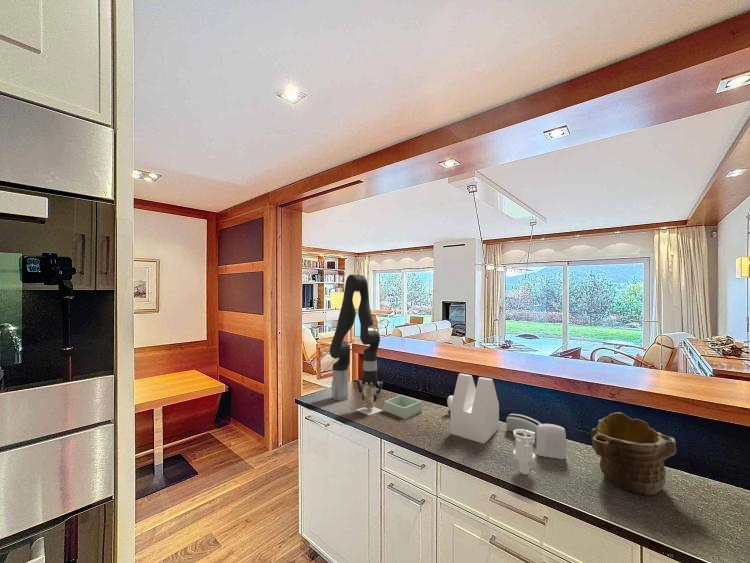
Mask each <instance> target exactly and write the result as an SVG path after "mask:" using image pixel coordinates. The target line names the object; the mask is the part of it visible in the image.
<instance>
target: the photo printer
mask: <svg viewBox="0 0 750 563" xmlns="http://www.w3.org/2000/svg"><path fill="white" fill-rule="evenodd" d="M566 445H567V434H566V429H565V428H564V427H562V426H561V425H557V424H552V423H542V424H539V425H538V428H537V440H536V455H537V454H538V456H540V457H545V458H551V459H556V458H557V459H558V460H563V459H565V458H567V457H566V454H567V452H566V450H567V446H566ZM565 460H566V459H565Z"/></svg>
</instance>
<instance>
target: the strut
mask: <svg viewBox="0 0 750 563" xmlns="http://www.w3.org/2000/svg"><path fill="white" fill-rule="evenodd" d="M374 388H375V387H374V384H373V385H371V384H363V389H364V401H363V407H364V408H374V407H376V401H375V402H374Z"/></svg>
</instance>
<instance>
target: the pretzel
mask: <svg viewBox="0 0 750 563" xmlns="http://www.w3.org/2000/svg"><path fill="white" fill-rule="evenodd" d="M453 396H454V394H453V395H449V396H448V397H447V400H446V402H447V407H448V409H449V410H450V412H451V404H452V400H453Z"/></svg>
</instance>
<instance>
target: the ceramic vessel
mask: <svg viewBox="0 0 750 563" xmlns="http://www.w3.org/2000/svg"><path fill="white" fill-rule="evenodd" d="M597 422H598V423H597V425H596V428H591V440H592V441H591V449H593V450H594V452H595V454H596V455H597V456H600V459H599V468H600V470H601V473H602V474H604V476H605V477H606V478H607V480H608V481H610V483H611V484H613V485H614V486H616V487H618V488H621V489H622V490H625V491H628V492H630V493H637V494H641V495H643V496H654V495H656V494H657V493H659V492H661V491H662V489H663V488H664V486H665V485H666V467H665V463H664V461H666V460H667V459H668V458H670V457H673V456H675V455H676V453H677V448H676V446H677V445H676V443H677V442H676V439H675V438H674V437H672V436H667V435H665V434H662V433H661V432H658V431H656V430H655V429H654V428H652V427H650V425H649V423H648V422H647V421H644V420H642V419H639V418H634V419H633V418H630V417H629V416H628V415H626V414H625V413H623V412H620V411H619V412H618V411H617V412H613V413H610V414H609V415H607V416H605V417H603V418H602V419H601V418H600V419H599V420H598V421H597Z"/></svg>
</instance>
